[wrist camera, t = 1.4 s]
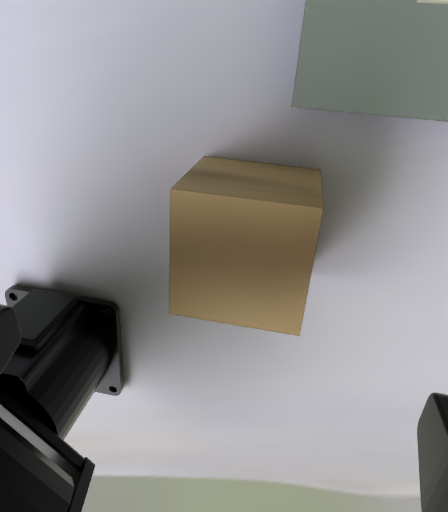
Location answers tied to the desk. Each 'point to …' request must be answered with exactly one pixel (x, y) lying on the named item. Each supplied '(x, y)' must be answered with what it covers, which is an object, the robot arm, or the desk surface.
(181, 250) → the walnut block
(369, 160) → the desk surface
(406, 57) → the blueprint plate
